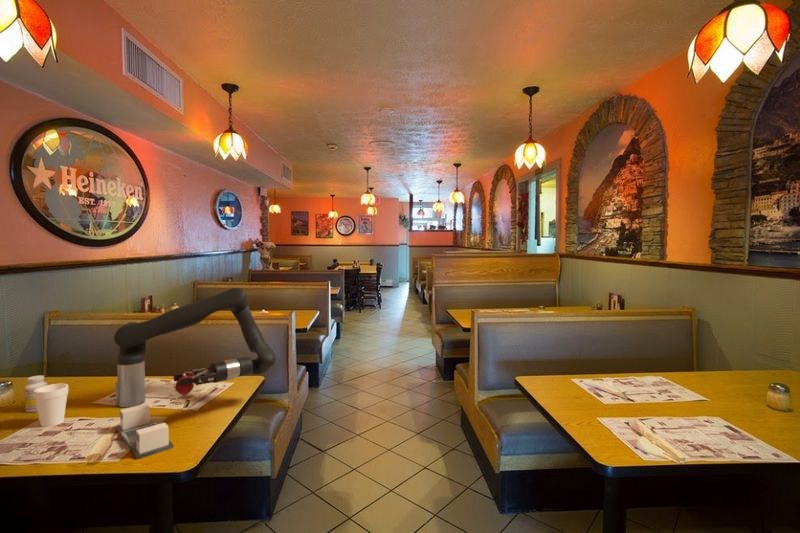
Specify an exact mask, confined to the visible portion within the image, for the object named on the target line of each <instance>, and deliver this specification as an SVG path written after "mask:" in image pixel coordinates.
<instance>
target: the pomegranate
mask: <svg viewBox="0 0 800 533" xmlns="http://www.w3.org/2000/svg"><path fill="white" fill-rule="evenodd" d="M182 374H183V376H182V377H181V378H179V380H180V379H184V378H189V376H187V375H186V374H185V372H183V373H182ZM179 380H178V381H175V391H176V392H177V393H178V394H180V395H181V396H187V395H188V394H189V393H191V391H192V390H193V389H194V387H195V386H194V385H195V384H192V383H191V384H188V385H183V386H180V385H179Z"/></svg>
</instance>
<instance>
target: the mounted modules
mask: <svg viewBox="0 0 800 533" xmlns="http://www.w3.org/2000/svg"><path fill="white" fill-rule="evenodd" d="M150 412H151V411H150V405H149V404H147V403H142V404H139V405H136V406H132V407H125V408H122V409H120V410H119V420H120V423H119V424H120V425H119V426H121V428H122V429H123V430H126V429H129V428H133V427H137V426H140V425H144V424H148V423H150V420H151V418H150V417H151V415H150ZM169 432H170V431H169V424H167V423H166V422H162V423H158V425H154V426H150V427H147V428H143V429H140V430H136V433H135V438H136V449H137V451H138V452H139V453H140V454H141V453H144V452H147V451H150V450H153V449H157V448H160V447H163V446H166V445H169V441H170V438H169V437H170V435H169V434H170V433H169Z"/></svg>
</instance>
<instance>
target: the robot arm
mask: <svg viewBox="0 0 800 533" xmlns="http://www.w3.org/2000/svg"><path fill="white" fill-rule="evenodd" d="M225 309H228V310H229V311H230V313H232V315H233V316H234V318H235V319H236V320H237V322H238V324H239V327H240V330H241V333H242V337H243V340H244V342H245V343H246V345H247V348H248V350H249V351H250V352H251V353H252V354H253V353H254V354H255V353H256V356H257V358H254V359H252V358H251V357H248V356H246V357H240V358H235V359H233V358H231V359H225V360H220V361H215V362H211V363H210V365H209V367H208V368H205V367H201V366H199V367H194V368H191V369H187V370H184V373H185V374H186V375H187V376H189V378H184V379H180V380H179V378H181V377H182V376H183V373H179V374H174V375H173V381H174V382H177V381H178V380H179V385H180V386H183V385H188V384H191V383H192V384H194V385H196V386H199V385H206V384H212V383H213V384H215V383H220V382H224V381H228V380H229V381H230V380H233V379H236V378H239V377H243V376H247V375H250V376H252V375H253V376H254V375H255V376H256V375H263V374H266V373H267V372H269V371H270V370H271V368H272V367H273V366H274V365H275V363H276V361H277V359H276V354H275V352H274V350H273V349H272V348H271V346H269V344H268V343H267V342H266V341H265V338H264V336H263V334H262V333H261V332H262V331H261V330H260V328H259V326H258V324H257V323H256V321H255V318H253V315H252V311H251V308H250V303H249V298H248V296H247V293H246V291H245V290H244V289H243V288H240V287H233V288H229V289H226V290H224V291H222V292H219V293H217V294H215V295H212V296H210V297H208V298H205V299H201V300H198V301H195V302H192V303H188V304H186V305H182V306H179V307H176V308H173V309H170V310H168V311H166V312H164V313H161V314H160V315H157V316H156V317H153V318H152V319H148V320H145V321H142V322H136V321H131V322H127V323H125V324H124V325H122V326H121V327H119V328H117V330H116V332H115V334H114V335H113V340H114V343H115V344H116V345H117V346H118V347H119V350H118V355H117V358H116V361H117V365H116V366H117V367H116V368H117V369H116V371H117V381H116V382H115V406H117V407H120V408H130V407H134V406H138V405H143V404H144V403H145V401H146V385H145V384H146V381H145V380H146V377H145V376H146V372H145V371H146V370H145V366H146V364H145V356H146V352H147V351H146V350H147V348H146V347H147V345H146V344H147V343H146V342H147V341H148V340H151V339H152V338H153V339H154V338H155V337H156V338H157V337H159V336H162V335H166V334H169V333H174V332H176V331H180V330H183V329H187V328H189V327H192V326H196V325H198V324H200V323H201V322H203V321H204V320H206V319H207V318H208V317H209V316H211V315H212V314H214V313H216V312H219V311H223V310H225Z"/></svg>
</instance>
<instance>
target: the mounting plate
mask: <svg viewBox="0 0 800 533" xmlns="http://www.w3.org/2000/svg"><path fill="white" fill-rule="evenodd" d="M158 424H159V423H158V422H156V421H155V422H153V421H152V419H150V423H148V424H144V425H140V426H137V427H133V428H129V429H126V430H123V429H122V428H121V426H120V425H116V426H115V427H116V431H117V432H118V434H119V435H120V437H121V438H122V440H123V439H124V440H123V441H124V442H126V443H125V444H126V445H128V446H127V447H128V448H130V449H129V450H130V452H131V453H132V455H133V456H134V458H135V459H136V460H140V459H142V458H145V457H149V456H152V455H154V454H158V453H161V452H165V451H168V450H170V449H174V444H173V443H172V442H171V441H170V440H169V445H166V446H163V447H160V448H157V449H153V450H150V451H147V452H144V453H141V454H140V453H139V452H138V451H137V449H136V438H135V433H136V430H140V429H143V428H147V427H150V426H154V425H158Z"/></svg>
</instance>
